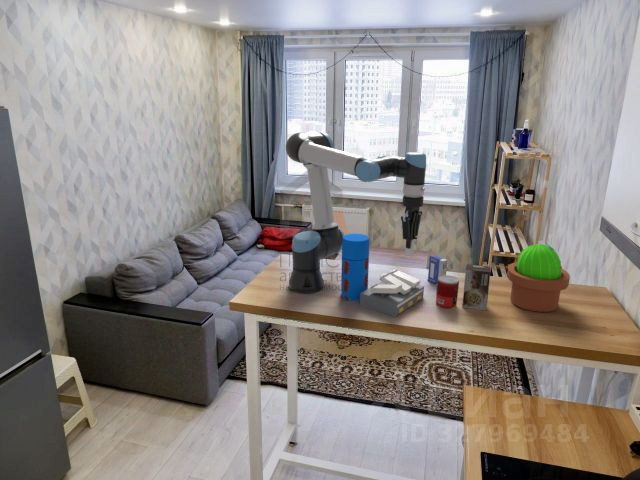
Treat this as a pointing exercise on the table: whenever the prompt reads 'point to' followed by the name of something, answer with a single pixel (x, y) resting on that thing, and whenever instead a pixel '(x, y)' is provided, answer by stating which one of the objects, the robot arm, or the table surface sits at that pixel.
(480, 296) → the coffee box
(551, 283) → the potted cactus
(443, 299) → the canned food
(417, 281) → the rocker
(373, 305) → the switch unit
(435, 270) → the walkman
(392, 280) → the rocker
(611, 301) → the table surface
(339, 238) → the robot arm
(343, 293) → the thermos
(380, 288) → the rocker
